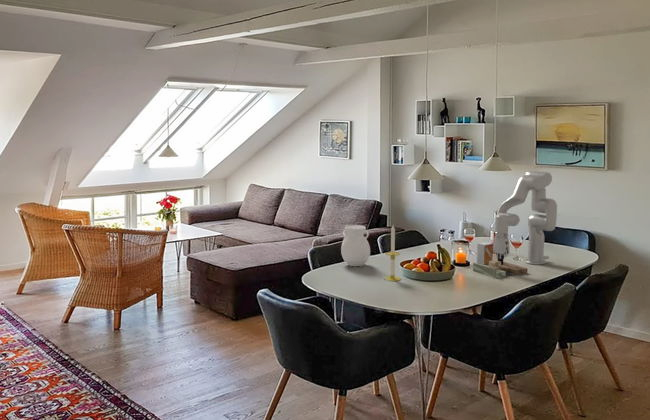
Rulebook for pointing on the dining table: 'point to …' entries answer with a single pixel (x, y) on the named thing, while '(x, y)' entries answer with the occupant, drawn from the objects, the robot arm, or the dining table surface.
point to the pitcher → (355, 245)
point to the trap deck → (500, 270)
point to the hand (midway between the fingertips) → (500, 264)
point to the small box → (484, 253)
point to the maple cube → (495, 264)
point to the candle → (392, 257)
